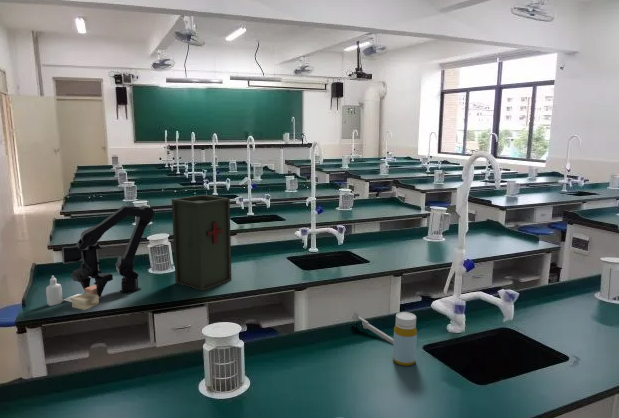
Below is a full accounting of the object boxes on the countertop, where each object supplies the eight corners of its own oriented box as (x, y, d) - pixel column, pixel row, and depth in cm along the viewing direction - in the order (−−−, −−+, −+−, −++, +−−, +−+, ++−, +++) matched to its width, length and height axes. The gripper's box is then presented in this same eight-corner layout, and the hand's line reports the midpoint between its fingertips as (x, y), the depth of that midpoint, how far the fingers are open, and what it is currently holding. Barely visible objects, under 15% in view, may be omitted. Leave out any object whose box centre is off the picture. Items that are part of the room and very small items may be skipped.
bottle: (401, 368, 139) (403, 322, 137) (388, 358, 146) (390, 313, 143) (419, 363, 142) (422, 318, 140) (406, 354, 148) (408, 310, 146)
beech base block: (87, 301, 192) (86, 292, 191) (99, 304, 189) (98, 295, 189) (72, 307, 186) (71, 298, 185) (84, 310, 183) (83, 301, 182)
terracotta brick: (94, 295, 200) (93, 285, 199) (101, 296, 198) (100, 286, 197) (85, 298, 196) (84, 288, 195) (92, 300, 194) (92, 289, 193)
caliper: (351, 327, 169) (351, 311, 168) (352, 326, 170) (353, 310, 169) (396, 346, 154) (397, 328, 153) (398, 345, 155) (399, 327, 154)
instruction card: (78, 294, 200) (78, 293, 200) (88, 296, 198) (88, 295, 198) (62, 300, 193) (62, 299, 193) (72, 302, 191) (72, 301, 191)
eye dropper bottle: (47, 303, 190) (44, 275, 188) (62, 300, 192) (60, 273, 190) (47, 306, 186) (44, 278, 184) (63, 304, 189) (60, 276, 187)
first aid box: (205, 273, 230) (202, 194, 224) (231, 280, 220) (229, 198, 213) (175, 283, 216) (171, 199, 209) (202, 291, 205) (199, 203, 198)
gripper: (58, 262, 190) (61, 297, 193) (90, 267, 183) (93, 304, 186) (81, 255, 200) (84, 289, 203) (112, 260, 193) (114, 296, 195)
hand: (93, 295), depth 197 cm, fingers open, 7 cm apart
